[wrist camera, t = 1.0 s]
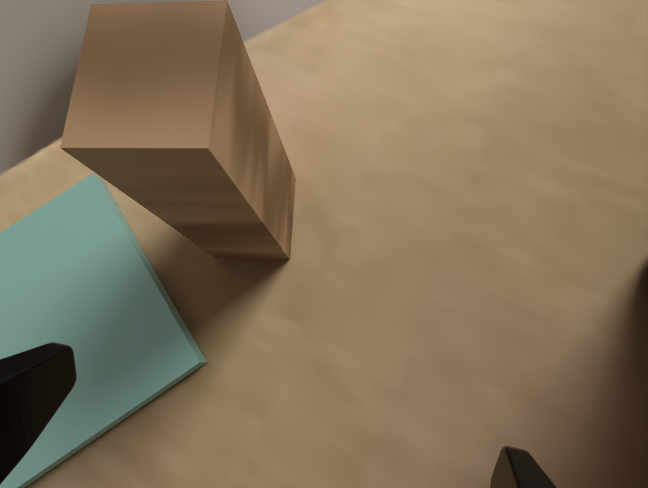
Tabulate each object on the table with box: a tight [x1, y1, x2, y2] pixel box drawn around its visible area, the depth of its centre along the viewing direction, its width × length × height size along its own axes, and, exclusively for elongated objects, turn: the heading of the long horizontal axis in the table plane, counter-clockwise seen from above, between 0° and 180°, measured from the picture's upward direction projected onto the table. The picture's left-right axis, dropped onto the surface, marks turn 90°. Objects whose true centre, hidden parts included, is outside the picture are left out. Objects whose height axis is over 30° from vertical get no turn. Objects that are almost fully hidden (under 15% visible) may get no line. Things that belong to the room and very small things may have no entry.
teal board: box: [0, 174, 207, 488], centre depth 23 cm, size 12×12×1 cm
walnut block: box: [60, 0, 296, 259], centre depth 18 cm, size 4×4×12 cm
